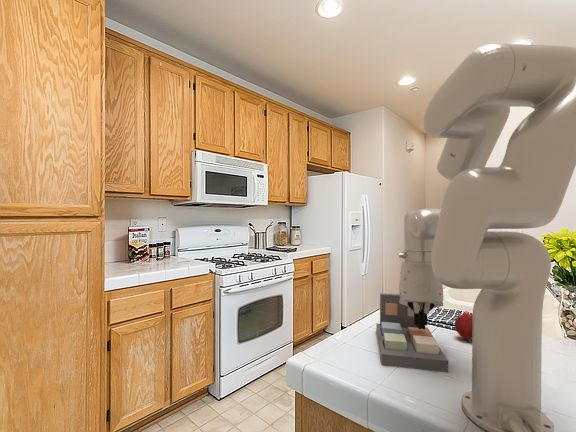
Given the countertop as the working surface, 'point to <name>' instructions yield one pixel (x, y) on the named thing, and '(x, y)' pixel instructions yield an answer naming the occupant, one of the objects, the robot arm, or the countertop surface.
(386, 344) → the sage key
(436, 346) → the cream key
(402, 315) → the keypad
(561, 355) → the countertop surface
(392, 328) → the slate key
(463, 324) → the red spiky ovoid
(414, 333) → the terracotta key
